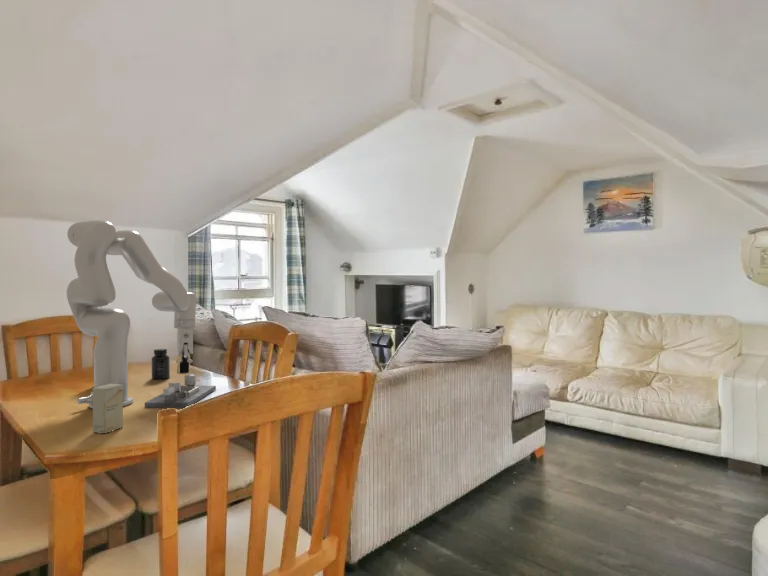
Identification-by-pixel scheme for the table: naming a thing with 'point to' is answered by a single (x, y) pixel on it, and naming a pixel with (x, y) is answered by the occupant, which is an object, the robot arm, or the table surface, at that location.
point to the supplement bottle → (160, 364)
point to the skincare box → (107, 408)
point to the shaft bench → (181, 394)
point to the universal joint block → (179, 364)
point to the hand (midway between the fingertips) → (183, 371)
